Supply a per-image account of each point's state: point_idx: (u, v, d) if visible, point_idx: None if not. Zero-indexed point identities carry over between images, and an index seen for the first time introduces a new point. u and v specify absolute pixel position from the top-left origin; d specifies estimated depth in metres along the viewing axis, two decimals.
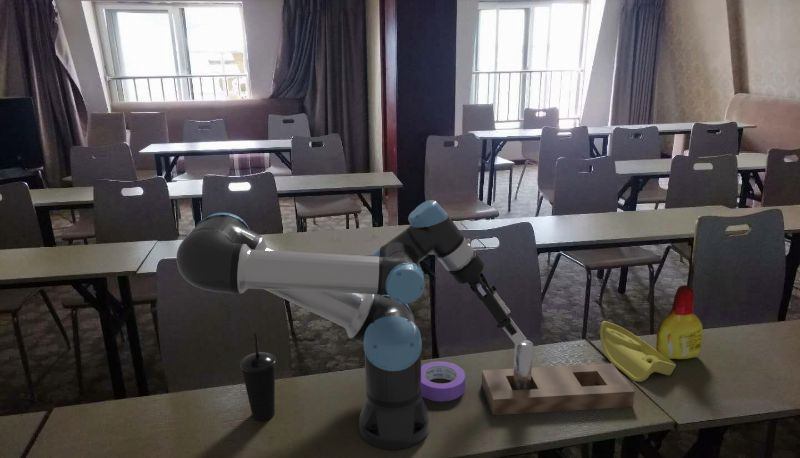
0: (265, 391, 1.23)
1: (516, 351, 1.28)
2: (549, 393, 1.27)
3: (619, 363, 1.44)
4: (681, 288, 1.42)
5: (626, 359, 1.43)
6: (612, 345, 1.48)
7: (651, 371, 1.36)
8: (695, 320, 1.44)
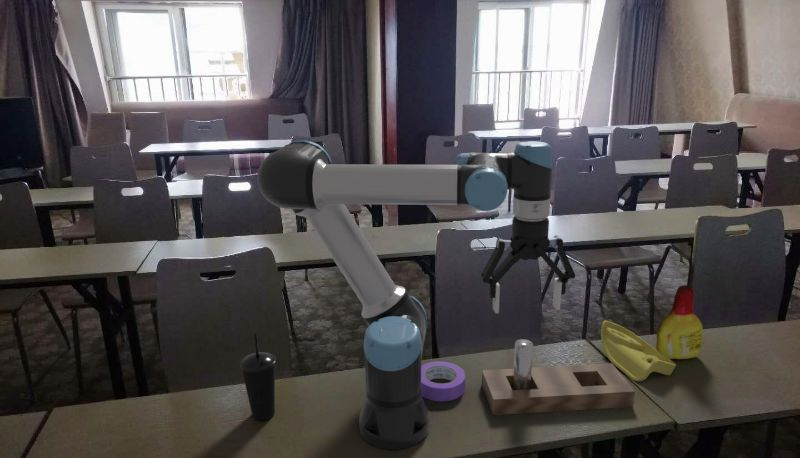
0: (265, 391, 1.23)
1: (516, 351, 1.28)
2: (549, 393, 1.27)
3: (619, 363, 1.44)
4: (681, 288, 1.42)
5: (626, 359, 1.43)
6: (612, 345, 1.48)
7: (650, 371, 1.36)
8: (695, 320, 1.44)
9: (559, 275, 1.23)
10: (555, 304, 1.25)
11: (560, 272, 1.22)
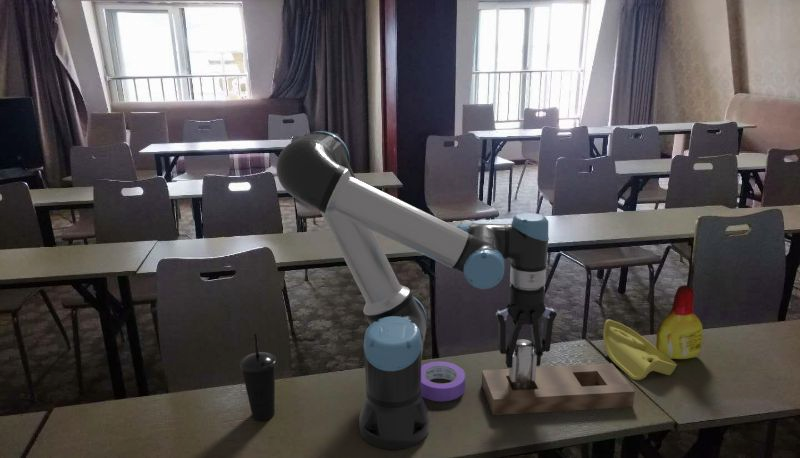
0: (265, 391, 1.23)
1: (516, 351, 1.28)
2: (549, 393, 1.27)
3: (619, 361, 1.45)
4: (681, 288, 1.42)
5: (626, 357, 1.44)
6: (613, 343, 1.49)
7: (649, 370, 1.37)
8: (695, 320, 1.44)
9: (537, 347, 1.27)
10: (531, 375, 1.30)
11: (539, 344, 1.27)
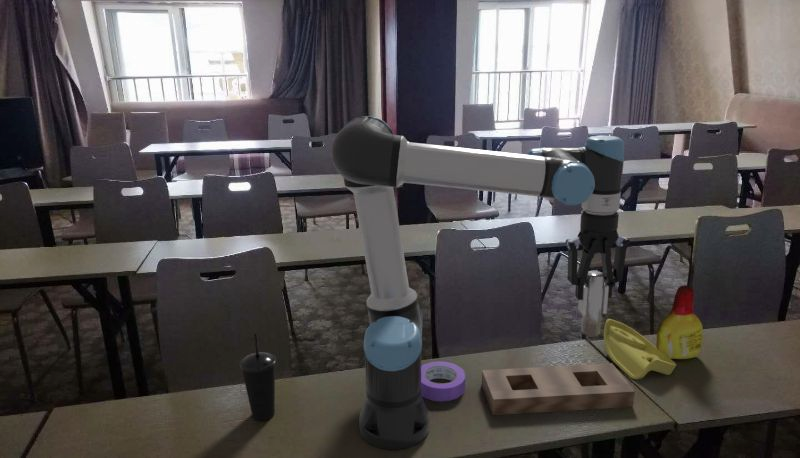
0: (265, 391, 1.23)
1: (587, 282, 1.24)
2: (549, 393, 1.27)
3: (619, 360, 1.45)
4: (681, 288, 1.42)
5: (626, 357, 1.44)
6: (614, 343, 1.49)
7: (648, 369, 1.37)
8: (695, 320, 1.44)
9: (609, 277, 1.23)
10: None
11: (611, 274, 1.23)
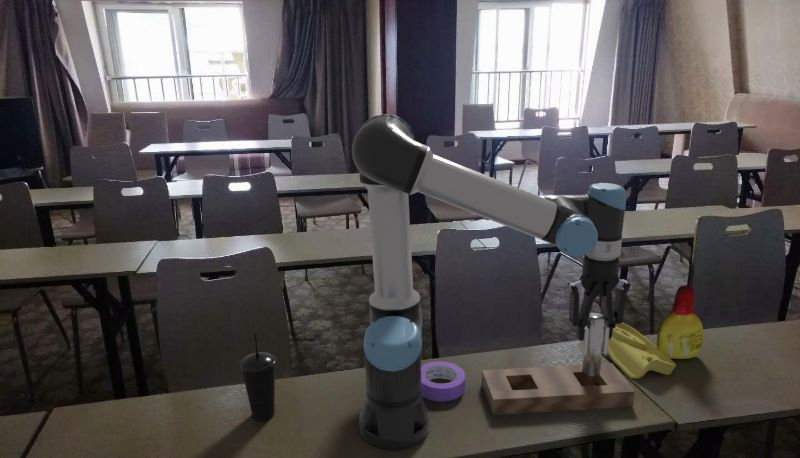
0: (265, 391, 1.23)
1: (588, 324, 1.27)
2: (549, 393, 1.27)
3: (619, 360, 1.45)
4: (681, 288, 1.42)
5: (626, 356, 1.44)
6: (614, 342, 1.49)
7: (647, 369, 1.37)
8: (696, 320, 1.44)
9: (609, 319, 1.27)
10: None
11: (612, 316, 1.27)
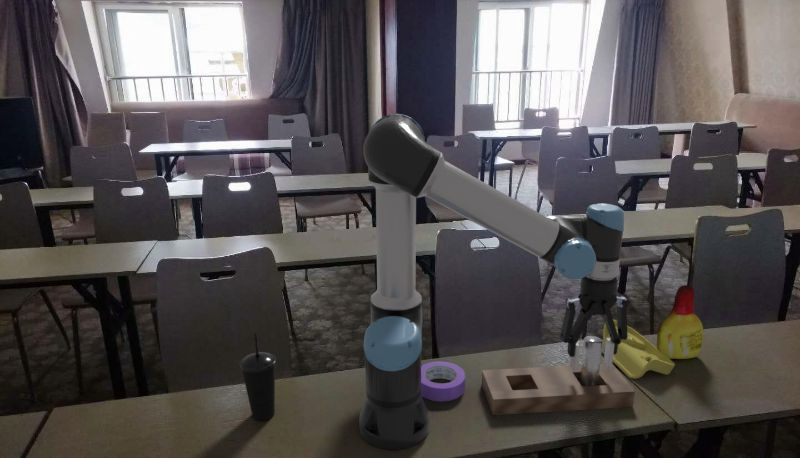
0: (265, 391, 1.23)
1: (585, 347, 1.29)
2: (549, 393, 1.27)
3: (618, 360, 1.45)
4: (682, 288, 1.42)
5: (625, 356, 1.44)
6: None
7: (646, 369, 1.37)
8: (696, 320, 1.44)
9: (614, 335, 1.28)
10: (607, 363, 1.31)
11: (615, 333, 1.28)
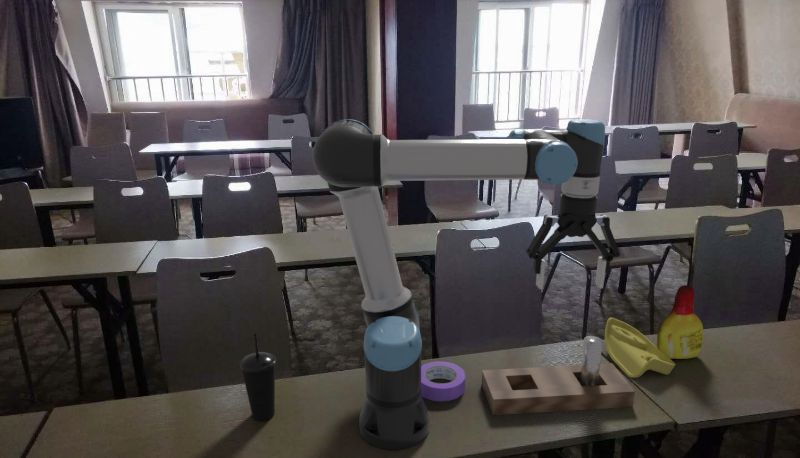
0: (265, 391, 1.23)
1: (585, 347, 1.29)
2: (549, 393, 1.27)
3: (618, 359, 1.46)
4: (682, 288, 1.42)
5: (625, 355, 1.45)
6: (614, 341, 1.50)
7: (646, 368, 1.38)
8: (696, 320, 1.44)
9: (604, 253, 1.24)
10: (598, 282, 1.27)
11: (605, 250, 1.24)
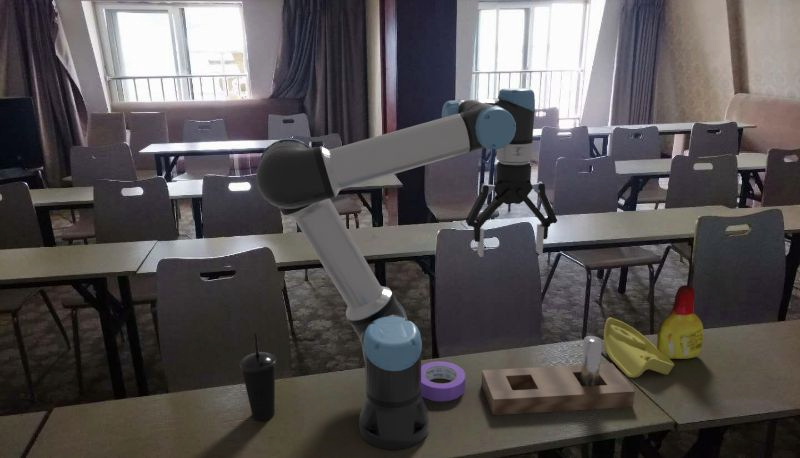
0: (265, 391, 1.23)
1: (585, 347, 1.29)
2: (549, 393, 1.27)
3: (617, 359, 1.46)
4: (682, 288, 1.42)
5: (624, 355, 1.45)
6: (613, 341, 1.50)
7: (645, 368, 1.38)
8: (696, 320, 1.44)
9: (541, 219, 1.27)
10: (538, 249, 1.30)
11: (542, 216, 1.27)
